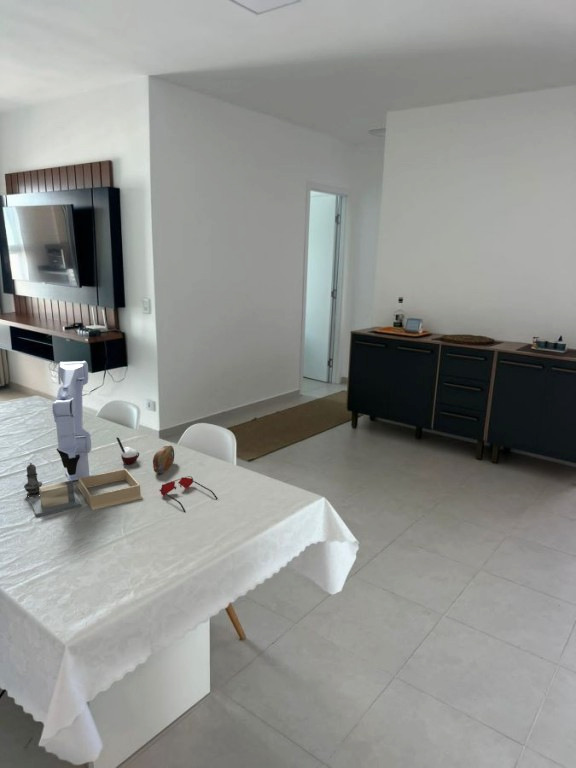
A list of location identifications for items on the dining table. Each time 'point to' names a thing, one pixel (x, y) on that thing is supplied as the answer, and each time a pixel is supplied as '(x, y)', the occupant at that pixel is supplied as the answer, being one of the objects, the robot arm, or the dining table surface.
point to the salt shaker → (32, 482)
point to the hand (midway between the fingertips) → (69, 470)
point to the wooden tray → (111, 496)
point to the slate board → (54, 507)
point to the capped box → (57, 494)
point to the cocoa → (128, 454)
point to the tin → (163, 459)
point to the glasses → (184, 482)
